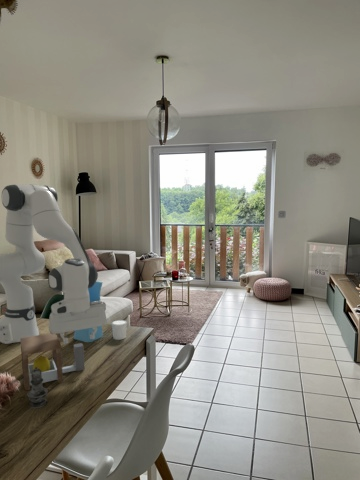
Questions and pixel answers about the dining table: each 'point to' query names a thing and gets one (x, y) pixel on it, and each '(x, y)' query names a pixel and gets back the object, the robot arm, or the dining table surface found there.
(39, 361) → the lemon
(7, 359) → the dining table surface
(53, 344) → the tunnel
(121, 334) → the grey white cylinder
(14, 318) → the robot arm
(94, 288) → the blue angular vessel
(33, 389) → the gray stone ornament
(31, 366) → the slider
